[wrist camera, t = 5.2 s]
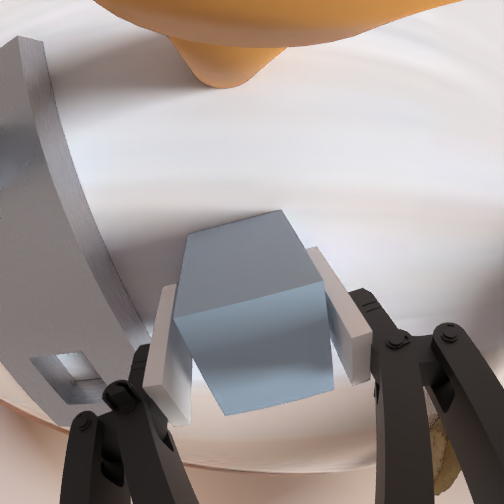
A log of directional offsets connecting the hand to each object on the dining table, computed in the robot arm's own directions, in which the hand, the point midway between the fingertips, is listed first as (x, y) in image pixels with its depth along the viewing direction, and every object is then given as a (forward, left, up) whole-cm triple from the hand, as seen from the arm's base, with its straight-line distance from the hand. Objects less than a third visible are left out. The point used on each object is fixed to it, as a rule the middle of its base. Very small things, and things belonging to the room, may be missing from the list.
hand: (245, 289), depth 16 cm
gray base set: (+10, -9, -2) cm, 13 cm away
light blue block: (0, 0, -2) cm, 2 cm away
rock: (0, +38, -2) cm, 38 cm away
